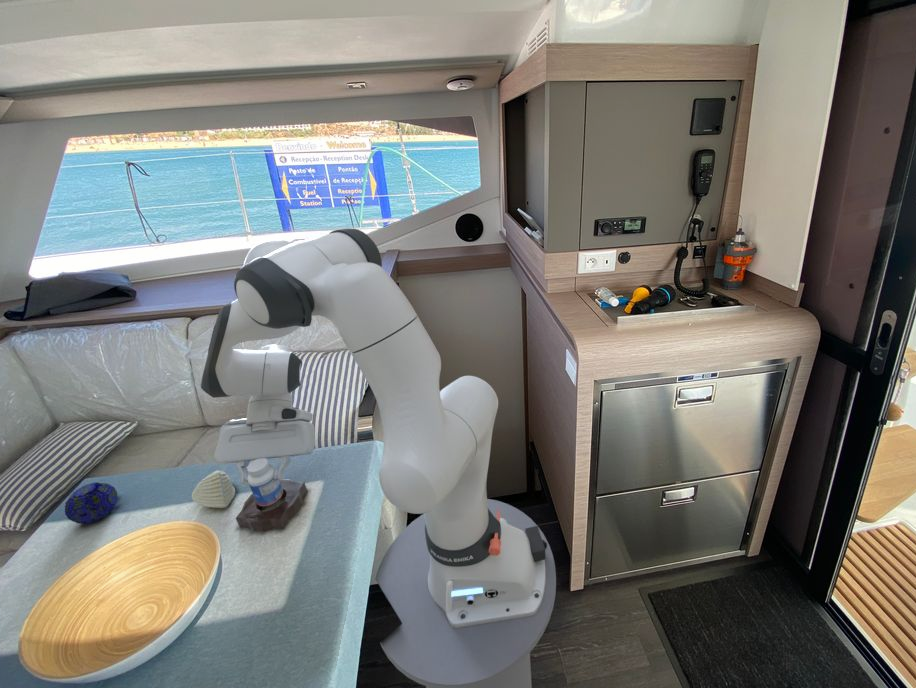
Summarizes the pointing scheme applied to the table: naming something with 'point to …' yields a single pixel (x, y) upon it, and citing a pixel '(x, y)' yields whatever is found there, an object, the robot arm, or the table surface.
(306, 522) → the table surface
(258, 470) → the pill bottle
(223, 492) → the seashell
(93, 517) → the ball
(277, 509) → the brown candle holder
